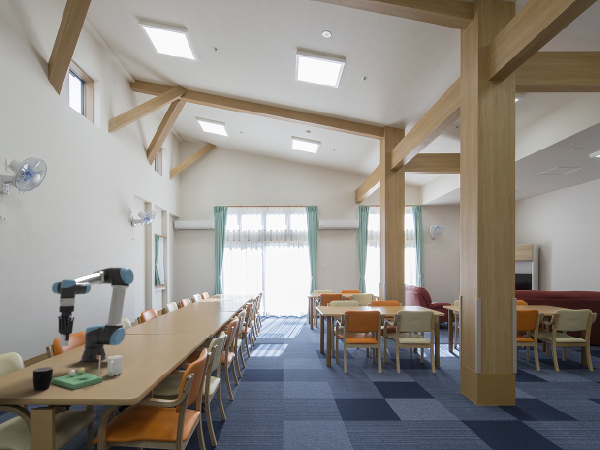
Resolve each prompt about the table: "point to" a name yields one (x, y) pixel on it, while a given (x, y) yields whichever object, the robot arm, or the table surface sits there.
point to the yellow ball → (81, 370)
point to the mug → (42, 378)
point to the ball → (71, 373)
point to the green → (78, 379)
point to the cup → (114, 365)
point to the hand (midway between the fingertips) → (64, 345)
